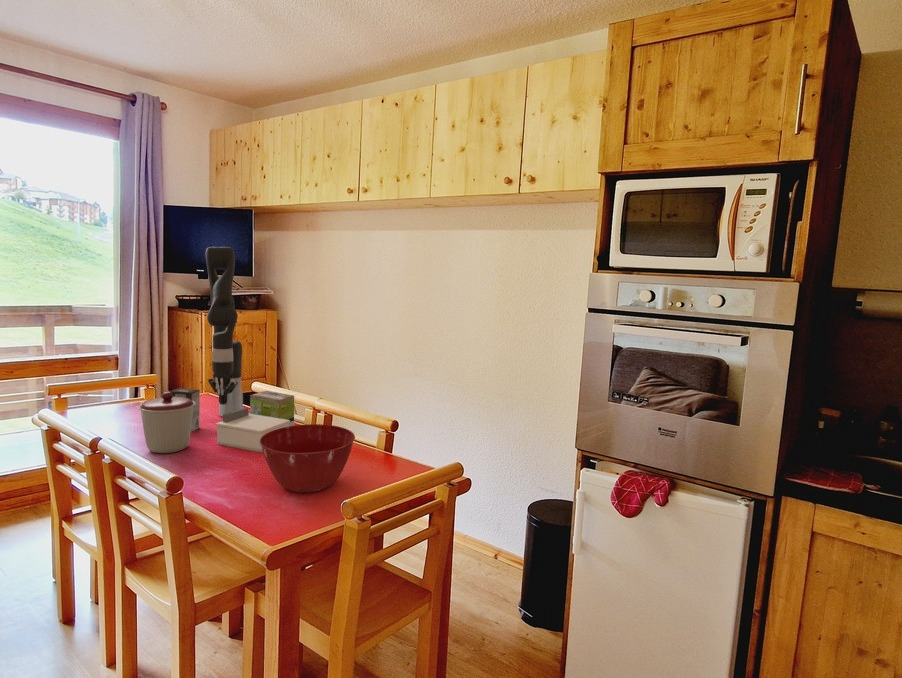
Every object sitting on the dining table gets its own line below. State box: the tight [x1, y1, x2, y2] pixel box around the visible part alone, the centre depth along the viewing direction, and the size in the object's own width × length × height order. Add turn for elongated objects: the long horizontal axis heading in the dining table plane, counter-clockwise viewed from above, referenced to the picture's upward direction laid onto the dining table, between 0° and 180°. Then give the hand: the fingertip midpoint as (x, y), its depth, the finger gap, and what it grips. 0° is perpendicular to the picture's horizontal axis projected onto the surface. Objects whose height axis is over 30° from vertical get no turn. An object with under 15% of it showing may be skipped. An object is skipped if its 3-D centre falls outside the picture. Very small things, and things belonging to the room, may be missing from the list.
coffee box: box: [170, 387, 201, 433], centre depth 220 cm, size 9×6×16 cm
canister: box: [138, 391, 196, 454], centre depth 196 cm, size 18×18×21 cm
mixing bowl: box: [260, 423, 356, 494], centre depth 169 cm, size 28×28×16 cm
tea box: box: [249, 390, 295, 426], centre depth 225 cm, size 15×10×15 cm
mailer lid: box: [215, 407, 290, 433], centre depth 207 cm, size 21×17×4 cm
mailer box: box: [216, 423, 289, 453], centre depth 208 cm, size 20×16×7 cm
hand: (222, 403), depth 211 cm, fingers closed
